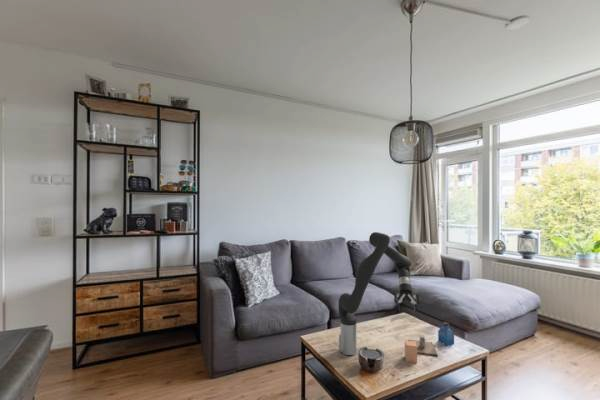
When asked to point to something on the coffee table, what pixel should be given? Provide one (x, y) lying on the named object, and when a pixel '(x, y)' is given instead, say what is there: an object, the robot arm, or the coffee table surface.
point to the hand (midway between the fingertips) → (407, 310)
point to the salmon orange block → (410, 351)
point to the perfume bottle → (446, 334)
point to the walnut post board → (425, 347)
